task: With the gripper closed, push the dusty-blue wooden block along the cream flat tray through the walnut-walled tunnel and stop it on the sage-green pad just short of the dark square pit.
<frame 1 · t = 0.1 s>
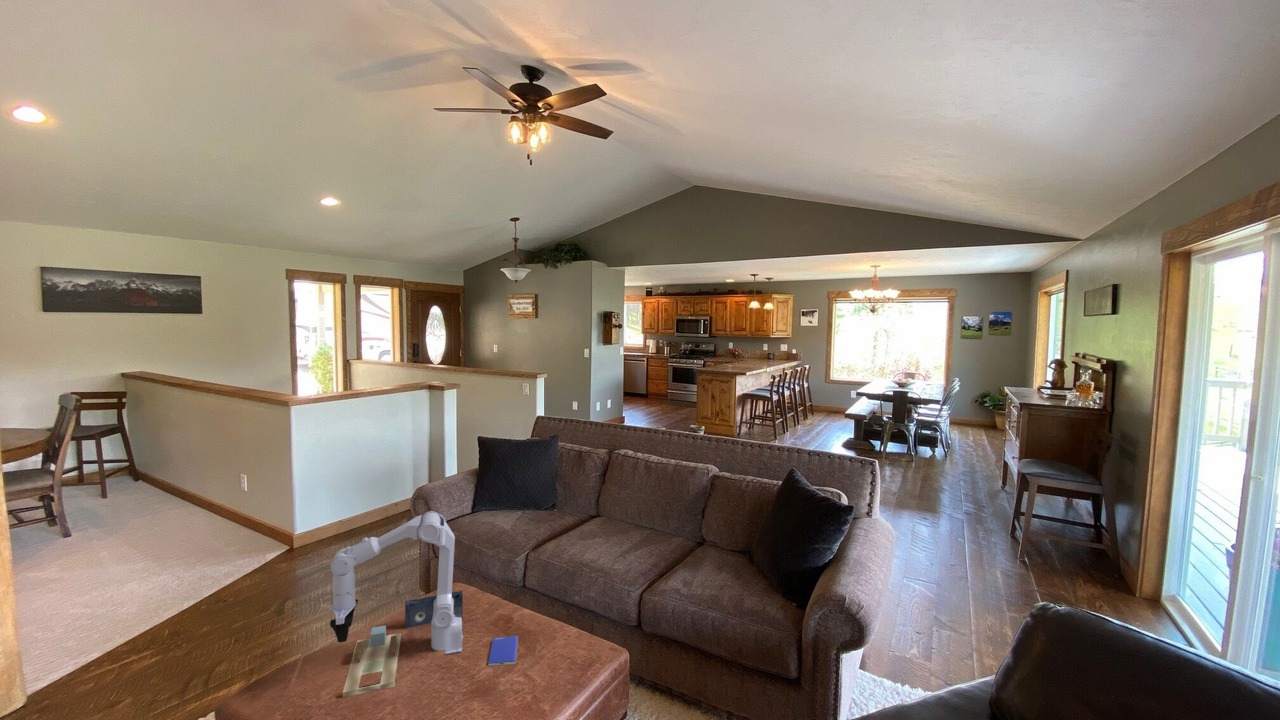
hand: (344, 633, 153), 10 cm above the ottoman, fingers open, 7 cm apart
cream flat tray: (374, 664, 155), on the ottoman
vhs cassette tape: (434, 625, 175), on the ottoman
blue book: (503, 654, 162), on the ottoman
blue block: (378, 642, 163), point 1 cm above the ottoman, touching cream flat tray
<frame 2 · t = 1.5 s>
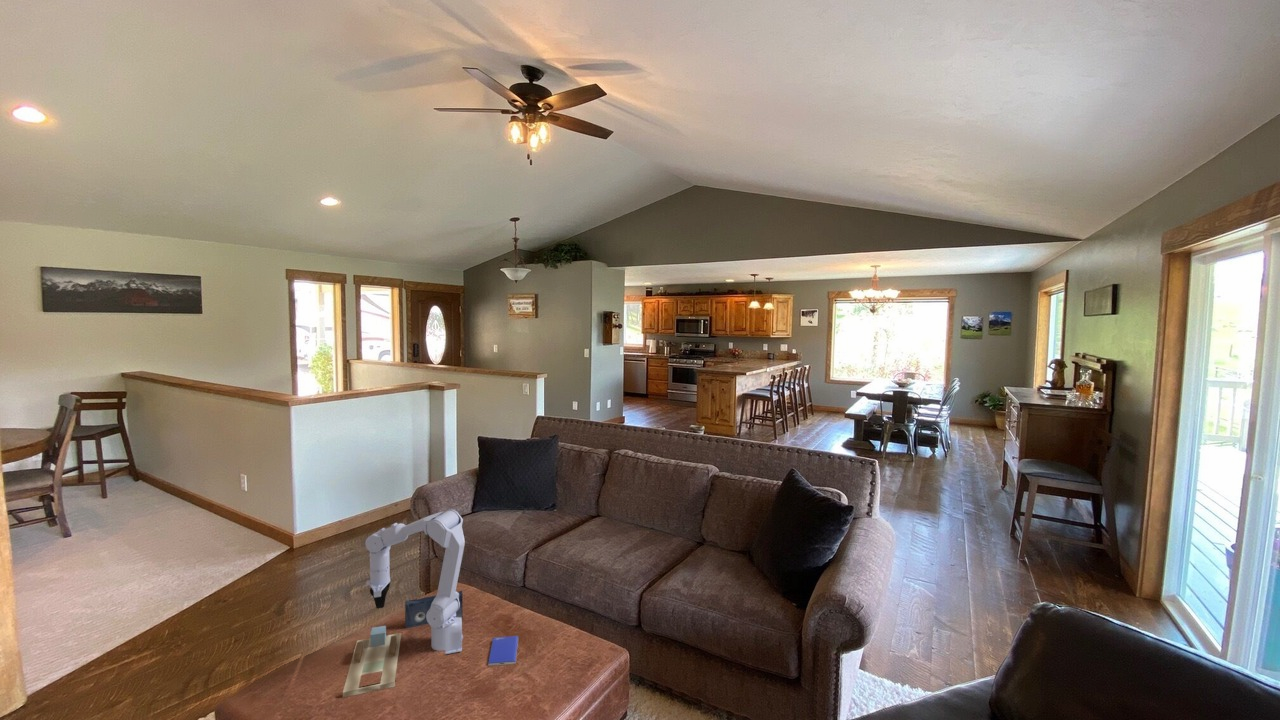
hand: (380, 607, 168), 10 cm above the ottoman, fingers closed
nothing on the ottoman moved.
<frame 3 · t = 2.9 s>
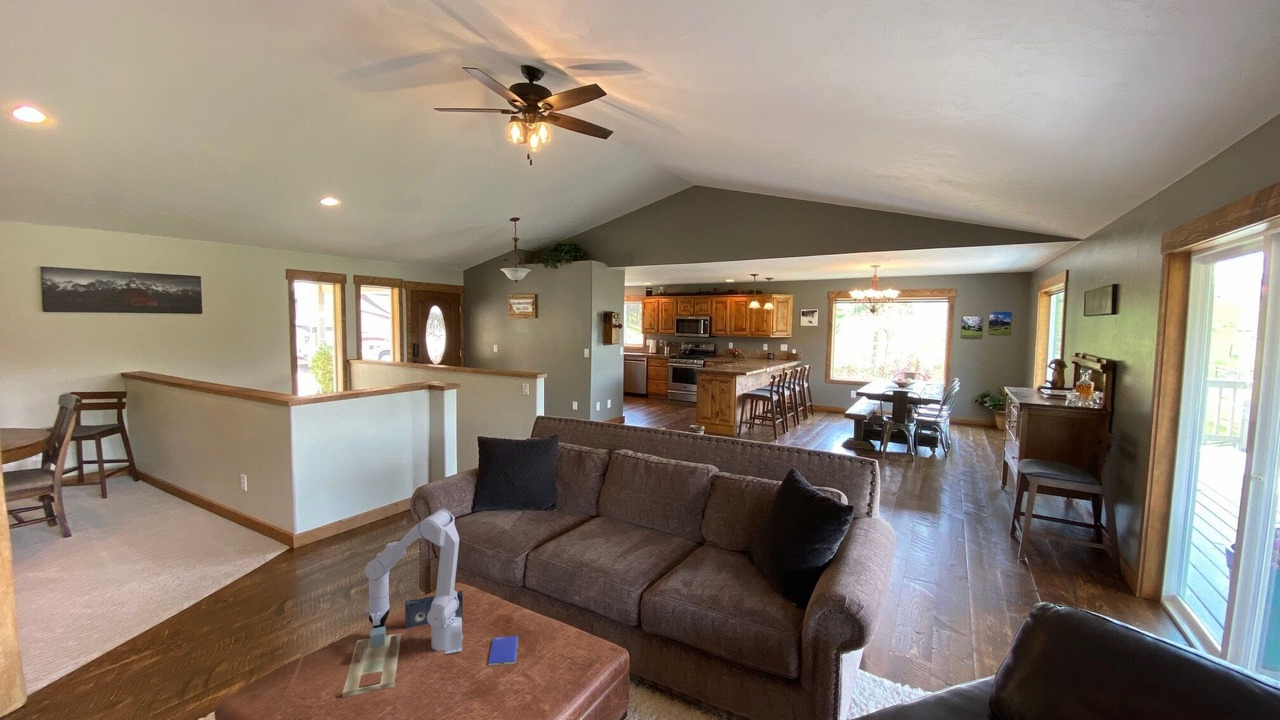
hand: (379, 634, 166), 2 cm above the ottoman, fingers closed
blue block: (378, 642, 162), point 2 cm above the ottoman, touching gripper
everything else where it was.
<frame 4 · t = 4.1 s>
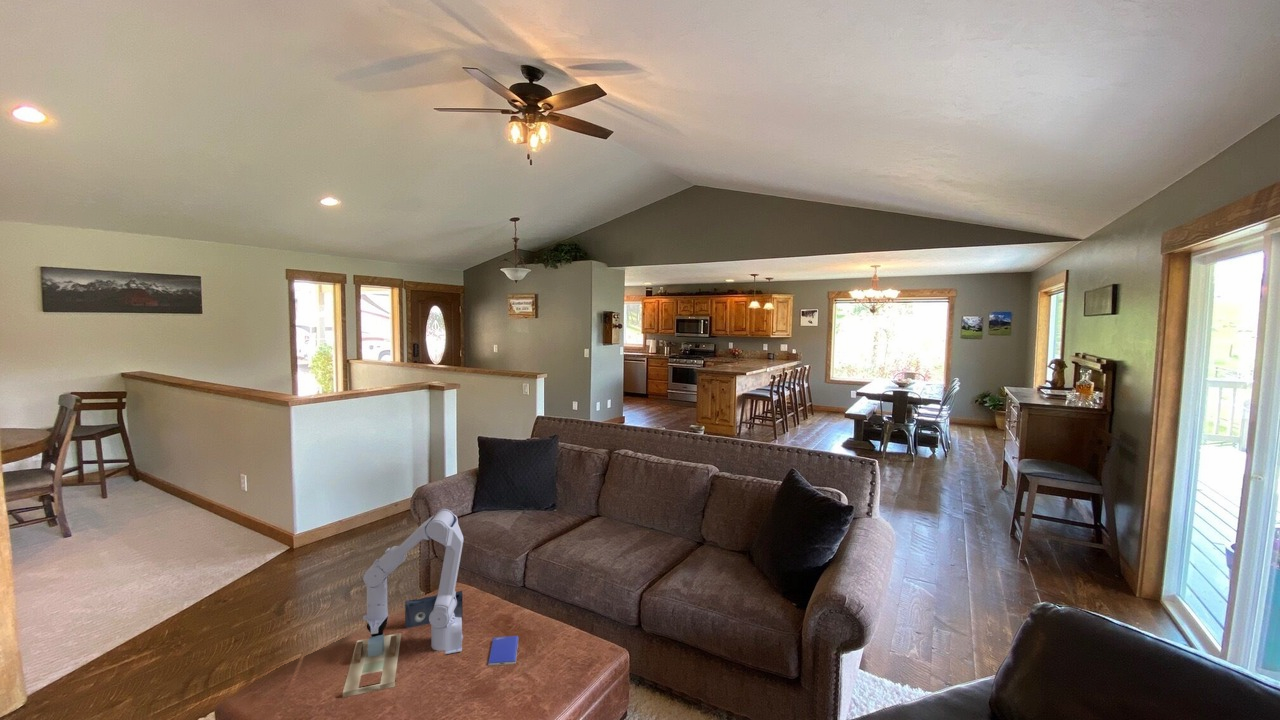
hand: (377, 642, 161), 2 cm above the ottoman, fingers closed
blue block: (376, 651, 158), point 2 cm above the ottoman, touching cream flat tray, gripper
everything else where it was.
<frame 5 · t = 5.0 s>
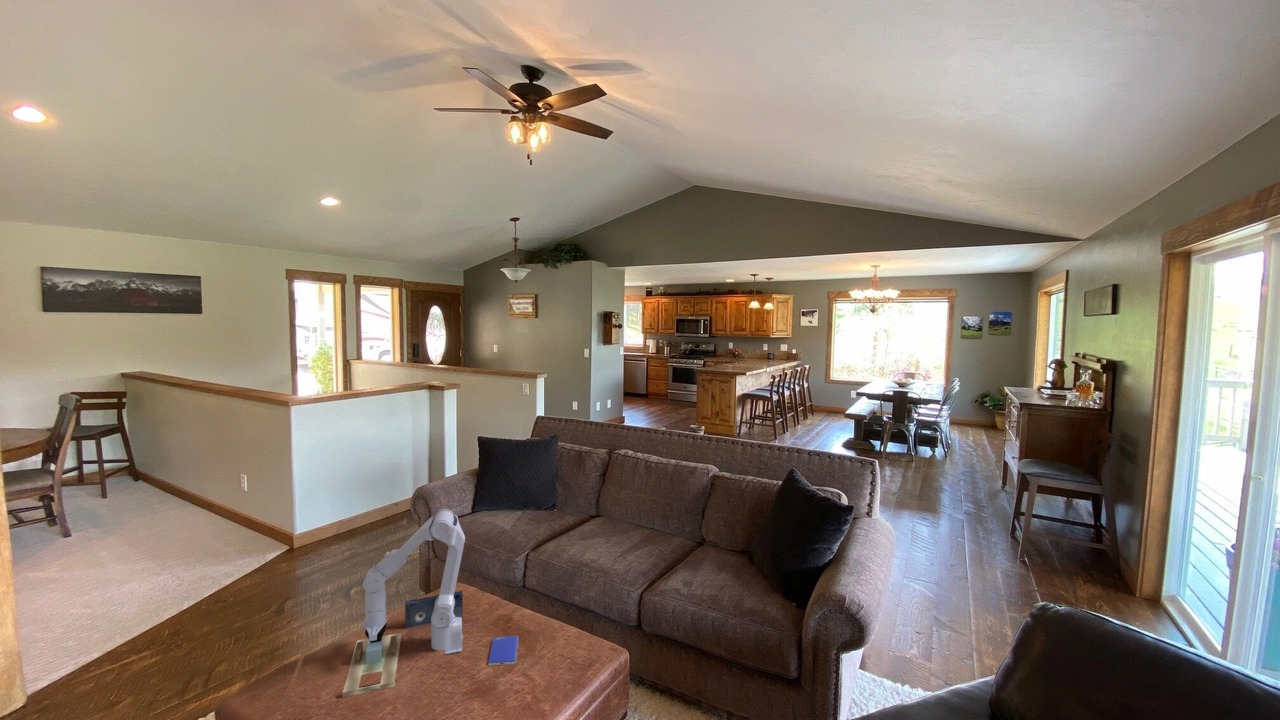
hand: (376, 649, 158), 2 cm above the ottoman, fingers closed
blue block: (374, 658, 155), point 2 cm above the ottoman, touching gripper
everything else where it was.
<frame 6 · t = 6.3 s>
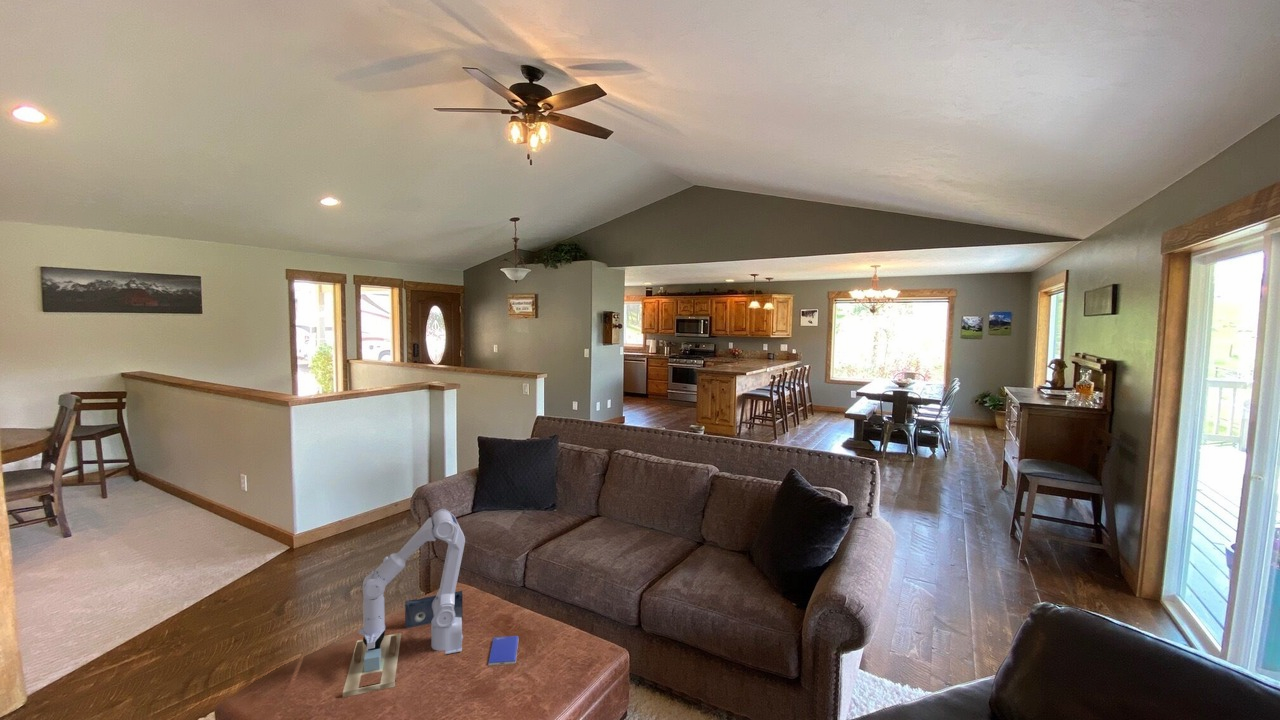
hand: (374, 656, 155), 2 cm above the ottoman, fingers closed
blue block: (372, 666, 152), point 2 cm above the ottoman, touching cream flat tray, gripper
everything else where it was.
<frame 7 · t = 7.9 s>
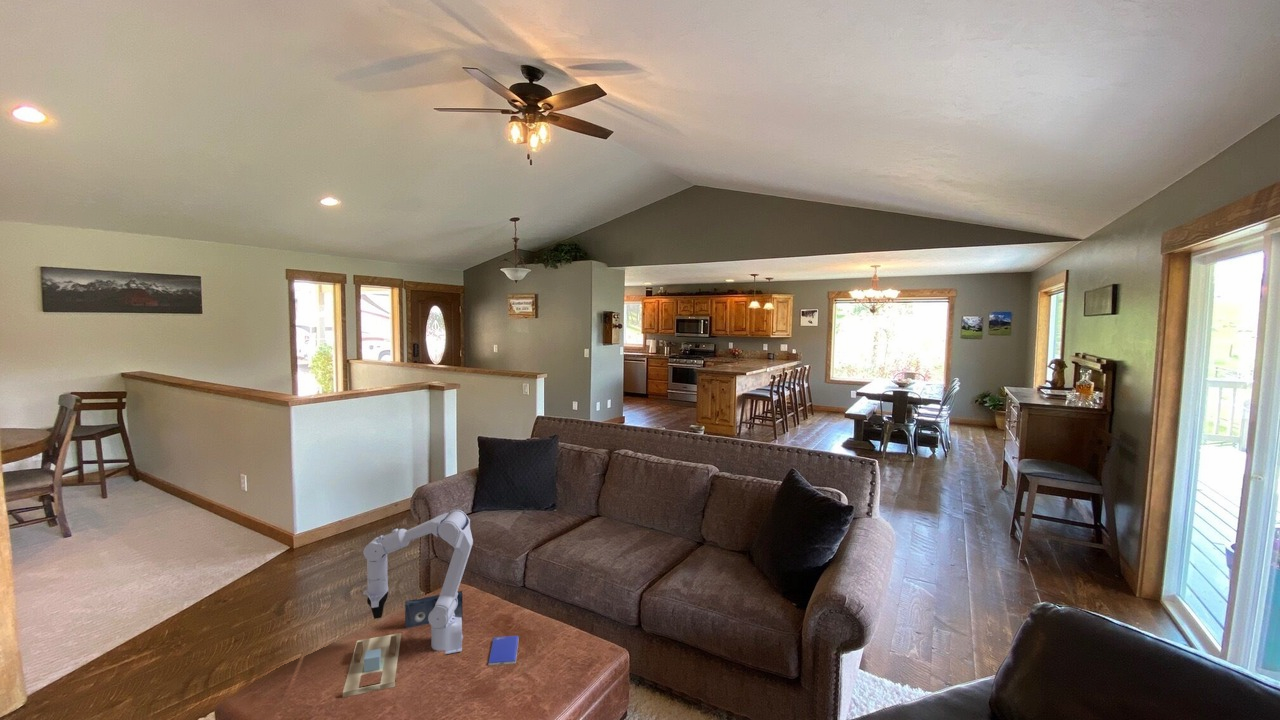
hand: (378, 617, 162), 10 cm above the ottoman, fingers closed
blue block: (372, 666, 152), point 1 cm above the ottoman, touching cream flat tray
everything else where it was.
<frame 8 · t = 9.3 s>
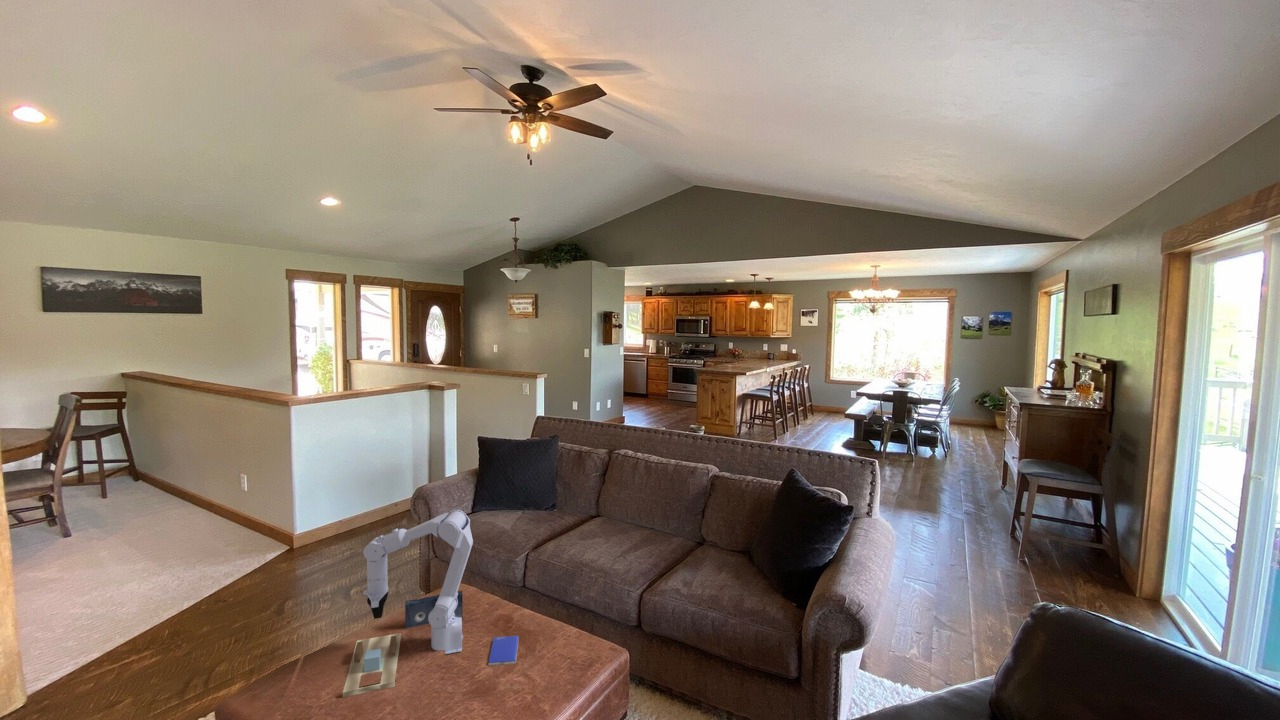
hand: (378, 617, 162), 10 cm above the ottoman, fingers closed
nothing on the ottoman moved.
at the end: blue block 0.2 cm from the target spot, point 1.5 cm above the ottoman; blue block tilted 0° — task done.
